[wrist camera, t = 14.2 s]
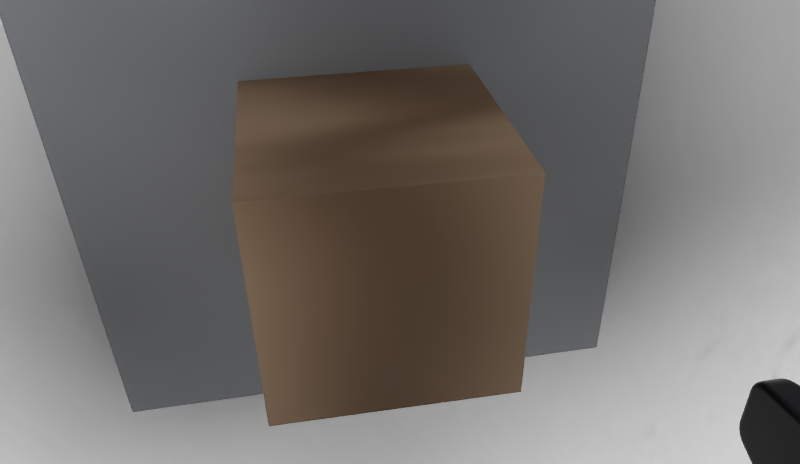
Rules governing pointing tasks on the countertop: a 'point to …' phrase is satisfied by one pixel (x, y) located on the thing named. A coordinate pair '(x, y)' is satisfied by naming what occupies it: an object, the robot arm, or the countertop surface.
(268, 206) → the walnut block
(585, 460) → the countertop surface
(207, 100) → the slate pad
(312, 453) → the countertop surface
